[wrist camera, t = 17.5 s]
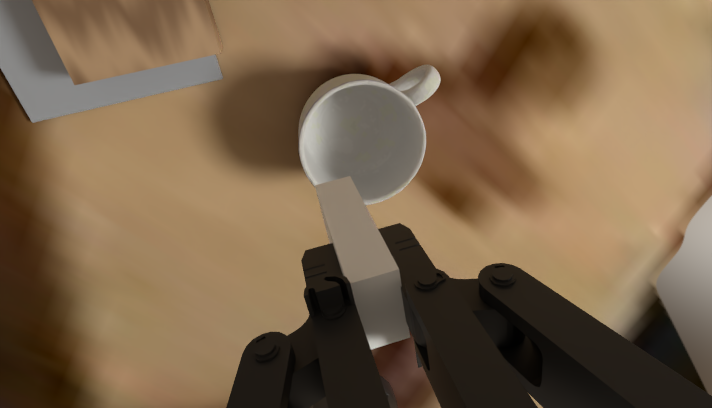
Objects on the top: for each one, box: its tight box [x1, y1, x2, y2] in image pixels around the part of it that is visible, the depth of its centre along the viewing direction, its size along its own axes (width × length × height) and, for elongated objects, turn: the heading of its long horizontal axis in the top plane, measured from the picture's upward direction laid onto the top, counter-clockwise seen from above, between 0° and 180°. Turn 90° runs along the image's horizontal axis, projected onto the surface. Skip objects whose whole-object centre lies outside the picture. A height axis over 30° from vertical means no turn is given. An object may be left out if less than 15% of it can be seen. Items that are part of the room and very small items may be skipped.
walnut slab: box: [32, 0, 223, 85], centre depth 32 cm, size 9×4×11 cm
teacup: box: [298, 65, 441, 205], centre depth 38 cm, size 14×11×8 cm
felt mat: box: [0, 0, 223, 123], centre depth 33 cm, size 14×16×1 cm
